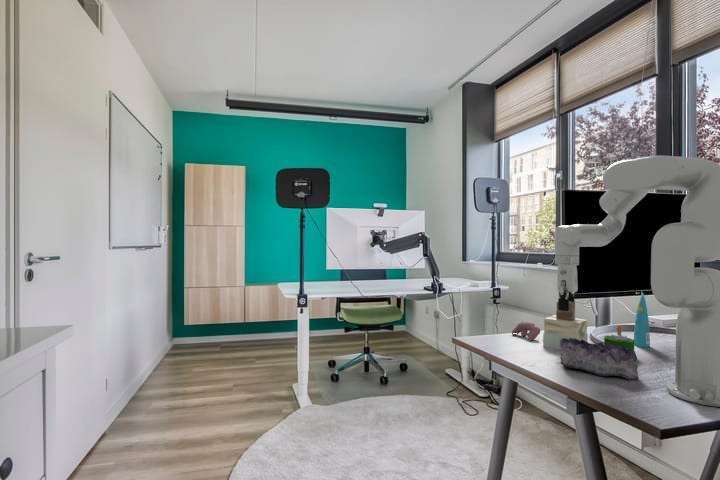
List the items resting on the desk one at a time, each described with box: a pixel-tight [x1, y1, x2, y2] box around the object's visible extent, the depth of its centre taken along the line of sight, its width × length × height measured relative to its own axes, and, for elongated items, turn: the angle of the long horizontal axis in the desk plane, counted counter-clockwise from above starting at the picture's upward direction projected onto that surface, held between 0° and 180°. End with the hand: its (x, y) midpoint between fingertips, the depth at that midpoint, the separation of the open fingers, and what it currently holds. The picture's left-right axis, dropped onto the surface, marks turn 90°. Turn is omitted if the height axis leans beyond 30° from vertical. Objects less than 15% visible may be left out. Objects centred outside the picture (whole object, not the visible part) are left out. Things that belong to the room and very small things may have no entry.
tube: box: [633, 291, 651, 348], centre depth 139 cm, size 7×5×19 cm, turn 150°
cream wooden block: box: [543, 314, 588, 339], centre depth 138 cm, size 9×11×5 cm
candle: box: [603, 324, 635, 351], centre depth 128 cm, size 8×8×10 cm
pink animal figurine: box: [511, 321, 541, 342], centre depth 149 cm, size 10×5×7 cm, turn 22°
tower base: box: [542, 331, 589, 350], centre depth 138 cm, size 10×12×5 cm
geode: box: [560, 338, 639, 381], centre depth 113 cm, size 20×12×10 cm, turn 53°
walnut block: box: [555, 301, 576, 321], centre depth 138 cm, size 5×5×6 cm
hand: (566, 308), depth 138 cm, fingers open, 9 cm apart
